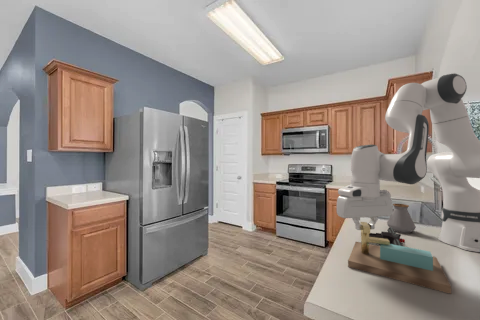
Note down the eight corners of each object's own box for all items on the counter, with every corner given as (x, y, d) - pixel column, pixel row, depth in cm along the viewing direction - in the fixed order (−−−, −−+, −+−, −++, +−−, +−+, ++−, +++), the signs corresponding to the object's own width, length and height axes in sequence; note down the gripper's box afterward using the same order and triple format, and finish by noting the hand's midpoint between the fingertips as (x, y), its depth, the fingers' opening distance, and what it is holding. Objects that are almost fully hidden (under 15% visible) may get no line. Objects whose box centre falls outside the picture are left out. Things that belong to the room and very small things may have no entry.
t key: (385, 251, 75) (385, 224, 75) (391, 260, 68) (391, 230, 68) (359, 247, 78) (359, 221, 78) (362, 255, 71) (362, 226, 71)
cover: (430, 264, 66) (430, 251, 66) (432, 270, 62) (432, 257, 62) (380, 253, 73) (380, 242, 73) (380, 258, 69) (380, 246, 69)
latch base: (436, 263, 71) (436, 257, 71) (451, 293, 54) (451, 286, 54) (355, 246, 84) (355, 241, 84) (348, 266, 68) (348, 260, 68)
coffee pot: (416, 230, 105) (416, 200, 105) (415, 236, 96) (415, 203, 96) (367, 222, 119) (367, 195, 119) (362, 226, 110) (362, 198, 110)
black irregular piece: (362, 239, 82) (410, 246, 75) (360, 221, 99) (399, 225, 92) (362, 251, 82) (410, 260, 75) (360, 232, 99) (399, 237, 92)
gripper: (382, 188, 79) (382, 225, 79) (333, 189, 76) (333, 227, 75) (398, 190, 73) (398, 230, 73) (345, 192, 69) (345, 233, 69)
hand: (364, 229), depth 74 cm, fingers closed on t key, 3 cm apart
